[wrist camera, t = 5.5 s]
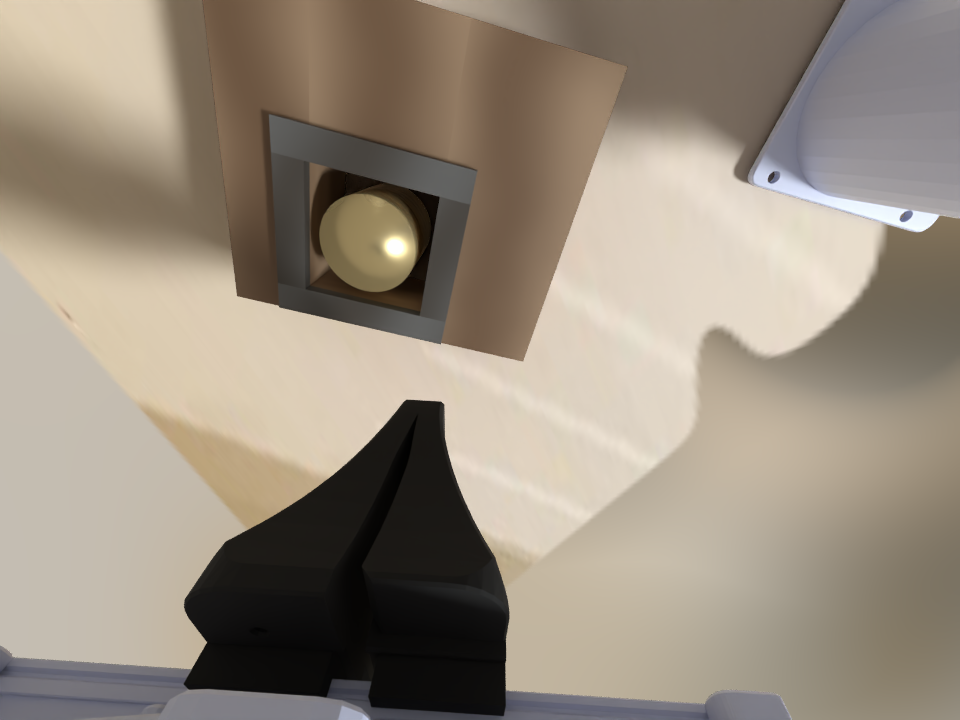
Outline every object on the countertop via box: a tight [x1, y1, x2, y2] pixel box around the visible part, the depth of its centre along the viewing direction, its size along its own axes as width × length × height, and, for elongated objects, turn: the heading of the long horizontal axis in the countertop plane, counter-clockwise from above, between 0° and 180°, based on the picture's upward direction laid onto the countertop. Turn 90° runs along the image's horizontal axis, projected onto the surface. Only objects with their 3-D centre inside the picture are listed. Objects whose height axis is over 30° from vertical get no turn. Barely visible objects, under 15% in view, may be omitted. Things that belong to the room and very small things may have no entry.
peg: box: [319, 183, 431, 292], centre depth 17 cm, size 4×4×4 cm
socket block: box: [203, 0, 628, 361], centre depth 16 cm, size 14×12×4 cm
